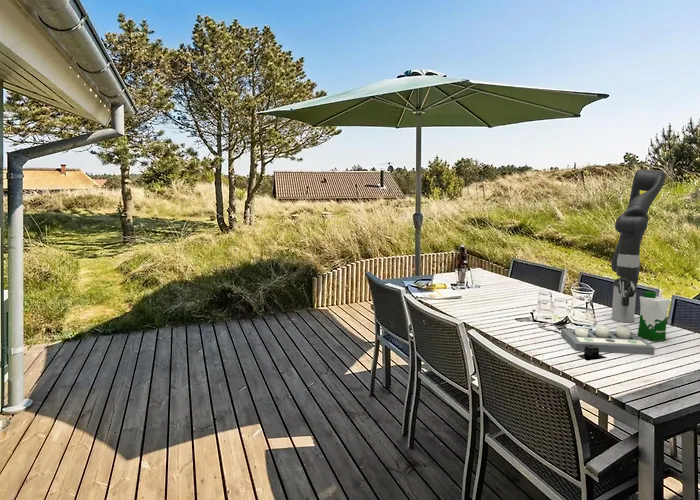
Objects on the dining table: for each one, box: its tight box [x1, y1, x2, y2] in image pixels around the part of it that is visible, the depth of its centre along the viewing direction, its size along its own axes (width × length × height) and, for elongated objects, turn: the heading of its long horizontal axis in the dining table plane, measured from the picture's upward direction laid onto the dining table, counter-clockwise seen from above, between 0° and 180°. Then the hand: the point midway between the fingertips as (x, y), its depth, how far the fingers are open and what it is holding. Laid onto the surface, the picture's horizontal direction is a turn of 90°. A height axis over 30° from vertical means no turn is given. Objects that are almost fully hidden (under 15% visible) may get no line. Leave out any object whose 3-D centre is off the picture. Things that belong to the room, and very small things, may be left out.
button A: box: [615, 325, 632, 339], centre depth 164 cm, size 5×5×5 cm
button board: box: [560, 328, 656, 356], centre depth 164 cm, size 18×28×3 cm, turn 79°
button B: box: [595, 324, 610, 338], centre depth 166 cm, size 5×5×5 cm
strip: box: [576, 337, 647, 346], centre depth 159 cm, size 5×24×1 cm, turn 79°
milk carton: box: [636, 290, 671, 343], centre depth 169 cm, size 9×9×20 cm
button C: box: [574, 327, 589, 337], centre depth 168 cm, size 5×5×5 cm
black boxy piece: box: [577, 345, 608, 361], centre depth 152 cm, size 12×7×5 cm, turn 104°
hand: (625, 305), depth 163 cm, fingers closed
